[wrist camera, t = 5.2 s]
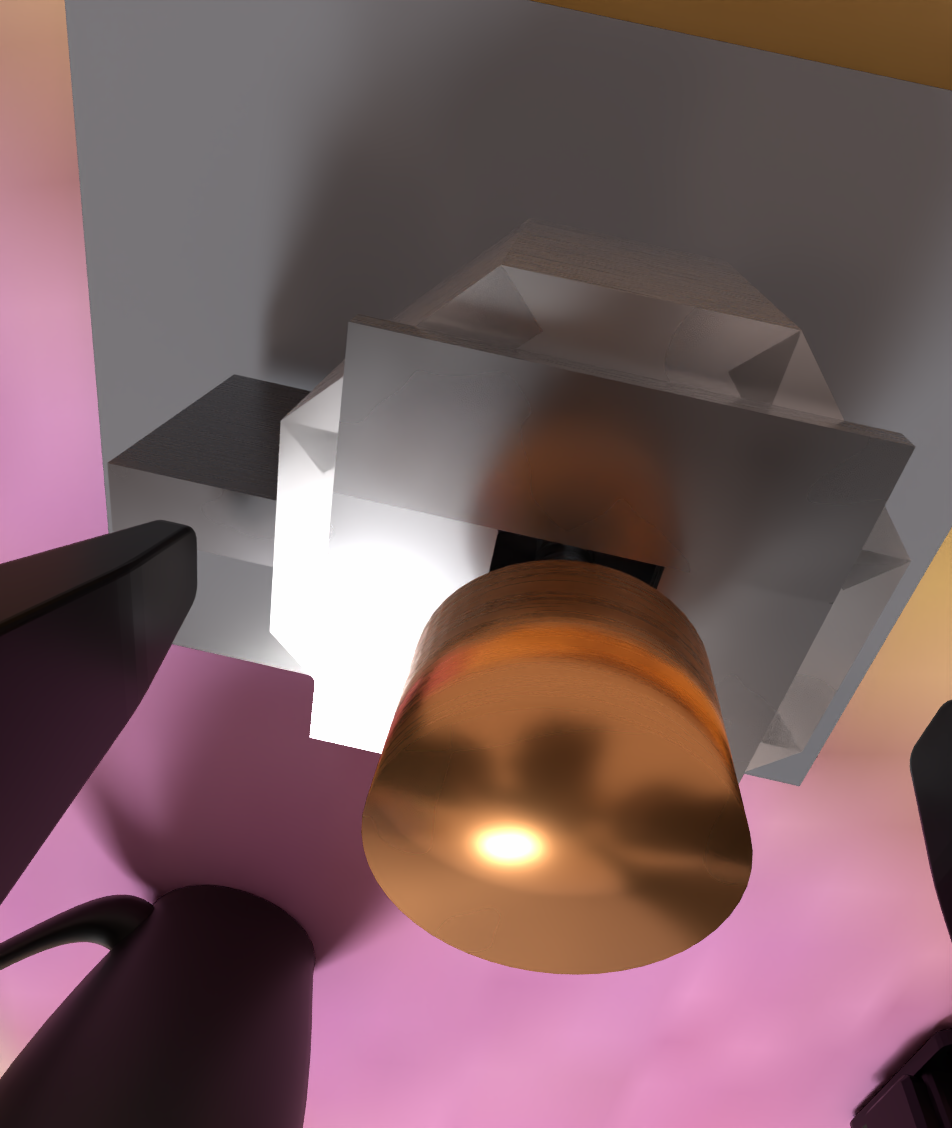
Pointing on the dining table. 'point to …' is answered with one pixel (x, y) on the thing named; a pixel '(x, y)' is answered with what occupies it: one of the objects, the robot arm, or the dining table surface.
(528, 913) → the plunger
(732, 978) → the dining table surface
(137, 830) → the dining table surface
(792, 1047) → the dining table surface
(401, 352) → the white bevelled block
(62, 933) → the mug
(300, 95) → the slate board
